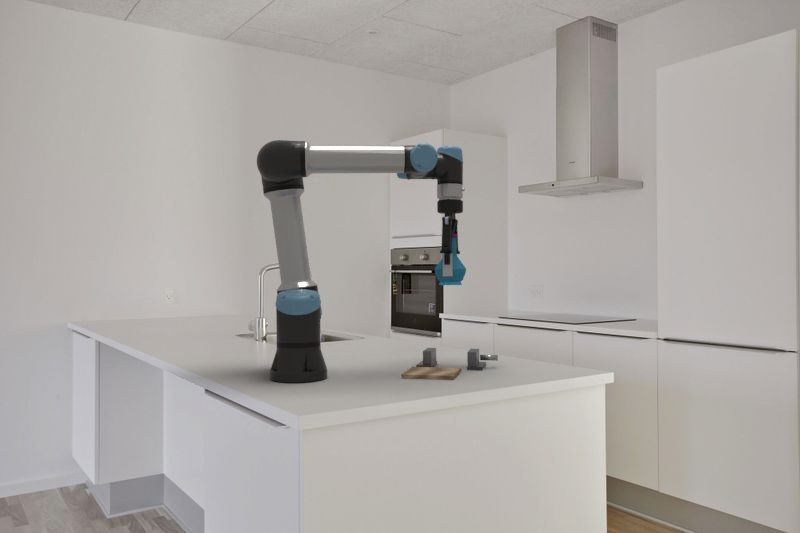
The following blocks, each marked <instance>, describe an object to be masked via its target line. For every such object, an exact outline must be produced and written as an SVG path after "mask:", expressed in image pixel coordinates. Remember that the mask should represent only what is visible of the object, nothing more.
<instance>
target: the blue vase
mask: <svg viewBox="0 0 800 533" xmlns="http://www.w3.org/2000/svg"><path fill="white" fill-rule="evenodd" d="M457 236H458V237H459V235H457V234H453V240H452V253H450V254H452V264H453V276H443V257H442V258H441V259H440V261H439V262H438V264H437V265H436V266H435V267H434V274H435V276H436V278H437V280H438V281H439V284H438V285H439V286H462V285H463V283H462V281H463V280H464V277H465V275H466V273H467V268H466V267H465V264H463V262H462V260H461V259H460V258H459V256H458V254H457V255H456V239H457V238H455V237H457Z"/></svg>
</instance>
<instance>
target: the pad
mask: <svg viewBox="0 0 800 533" xmlns="http://www.w3.org/2000/svg"><path fill="white" fill-rule="evenodd" d="M461 372H462V368H461V367H443V366H442V367H440V366H439V367H437V366H436V367H435V366H434V367H416V366H411V367H410V368H409V369H407V370H406V371H405V372H403V373H402V374H401V379H411V380H413V379H416V380H418V379H419V380H443V381H444V380H446V381H454V380H456V378H457V377H458V376H459V375H460V374H461Z"/></svg>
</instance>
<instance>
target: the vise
mask: <svg viewBox="0 0 800 533" xmlns="http://www.w3.org/2000/svg"><path fill="white" fill-rule="evenodd" d="M466 353H467V357H466V358H467V361H466V362H467V366H466V371H483V370H484V369H485V367H486V366H487V362H486V361H496V362H497V361H498V360H499V355H498V354H480V348H469V350H467V352H466ZM436 365H438V361H437V347H427V348H425V349H424V350H422V360H421V361H420V362H418V363H417V364H416V365H415V367H435V366H436Z"/></svg>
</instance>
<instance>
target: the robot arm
mask: <svg viewBox="0 0 800 533" xmlns="http://www.w3.org/2000/svg"><path fill="white" fill-rule="evenodd" d="M463 160H464V159H463V150H462V148H461V147H459V146H457V145H456V146H455V145H442V146H438V148H437V150H436V148H435V147H434V146H433V145H432V144H430V143H427V142H421V143H417V144H415V145H412V144H411V145H403V144H402V145H401V144H400V145H397V144H395V145H394V144H393V145H391V144H389V145H383V144H382V145H380V144H379V145H378V144H375V145H373V144H372V145H371V144H367V145H366V144H364V145H363V144H361V145H360V144H356V145H355V144H353V145H351V144H344V145H343V144H340V145H339V144H336V145H335V144H310V143H309V142H308V141H307V140H287V139H286V140H284V139H276V140H272V141H269V142H266V143H265V144H264V145H263V146H261V148H260V149H259V150H258V153H257V156H256V167H257V170H258V171H259V174H260V177H261V184H262V191H263V196H264V197H265V198H266V199H267V200H269V203H270V204H269V205H270V210H271V217H272V218H271V219H272V224H273V225H272V226H273V231H274V232H273V233H274V239H275V246H276V253H277V254H276V255H277V261H278V270H279V276H280V282H281V283H280V285H279V286H278V288H277V289H276V293H277V294H276V297H275V298H276V300H275V308H276V310H275V311H276V314H275V315H276V321H275V322H276V351H275V354H274V357H273V360H272V364H271V367H270V370H269V374H270V375H269V376H270V378H269V379H270V380H271V381H274V382H277V383H308V382H310V383H311V382H316V381H322V380H325V379H327V378H328V368H327V364H326V362H325V359H324V358H325V357H324V355H323V352H322V349H321V319H322V315H323V312H322V311H323V310H322V305H321V304H322V300H321V296H320V293H319V288H318V284H317V283H316V282H315V281H314V280H312V275H311V269H310V262H309V255H308V247H307V238H306V231H305V224H304V219H303V209H302V203H301V196H302V195H303V194H304V192H305V185H304V178H308V177H309V176H310V175H313V174H396V176H397V178H398V179H399V180H400V179H402V180H408V181H409V180H437V182H436V196H437V197H436V198H437V199H438V200H437V203H436V204H437V205H436V206H437V208H436V209H437V211H436V212H437V213H439V214H442V215H443V214H444V216H443V217H441V221H442V224H441V226H442V228H441V231H442V232H441V248H440V250H439V253H440V254H442V258H443V276H453V264H452V254H450V253H452V240H453V234H457V235H458V225H459V223H458V222H459V221H458V219H457V218H456V215H457V214H462V213H463V212H464V201H463V200H462V199H463V198H464V196H463V195H464V194H463V192H465V191H466V189H465V187H463V186H464V184H463V182H464V180H463V179H464V178H463V176H464V175H463V174H464V173H463V172H464V168H463V166H464V165H463V164H464V161H463ZM455 238H457V239H456V255H457V256H458V255H460V254H461V251H459V235H458V236H457V237H455Z"/></svg>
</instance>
